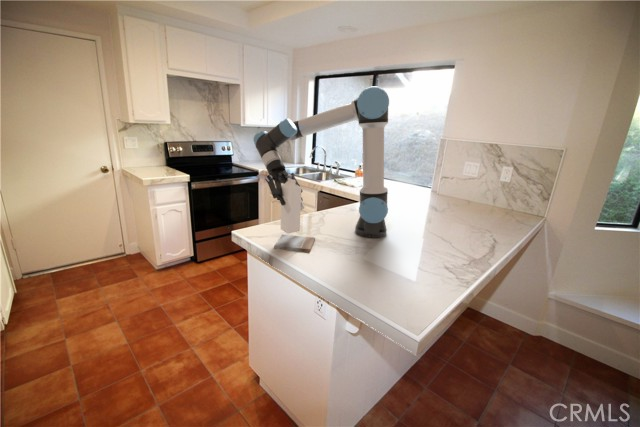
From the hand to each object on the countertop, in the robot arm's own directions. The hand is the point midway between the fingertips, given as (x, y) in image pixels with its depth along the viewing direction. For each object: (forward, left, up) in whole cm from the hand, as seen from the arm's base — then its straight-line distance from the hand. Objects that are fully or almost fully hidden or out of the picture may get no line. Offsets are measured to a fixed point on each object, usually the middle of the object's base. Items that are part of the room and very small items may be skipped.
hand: (296, 209), depth 123 cm
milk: (+3, -2, -10) cm, 11 cm away
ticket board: (0, -2, -16) cm, 16 cm away
